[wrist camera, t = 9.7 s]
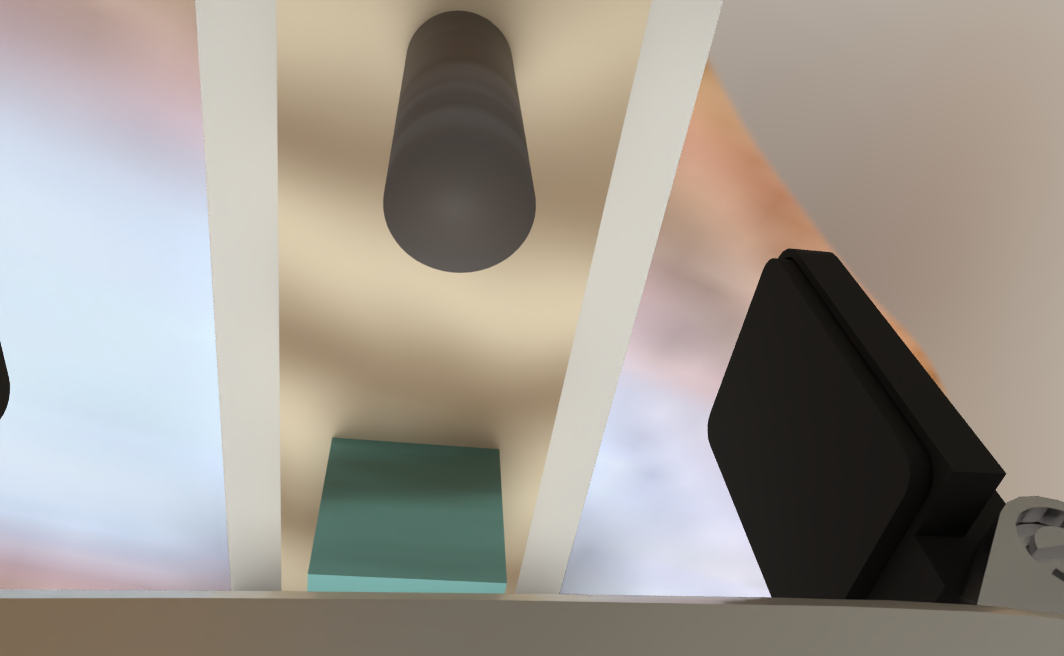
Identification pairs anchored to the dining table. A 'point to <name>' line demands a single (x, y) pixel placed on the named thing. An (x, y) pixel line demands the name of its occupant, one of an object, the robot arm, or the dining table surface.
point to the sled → (433, 273)
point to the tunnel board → (253, 273)
